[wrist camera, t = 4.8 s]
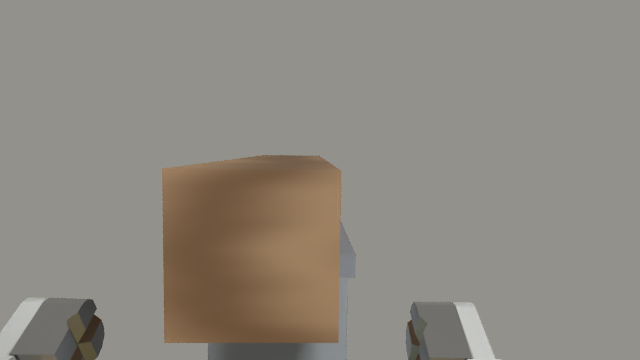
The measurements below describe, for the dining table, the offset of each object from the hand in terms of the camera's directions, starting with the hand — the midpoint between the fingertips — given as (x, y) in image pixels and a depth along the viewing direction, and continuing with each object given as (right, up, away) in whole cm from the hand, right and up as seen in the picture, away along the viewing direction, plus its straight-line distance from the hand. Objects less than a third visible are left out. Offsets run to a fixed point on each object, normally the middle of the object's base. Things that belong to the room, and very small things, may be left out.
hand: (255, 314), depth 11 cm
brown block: (0, 0, +10) cm, 10 cm away
